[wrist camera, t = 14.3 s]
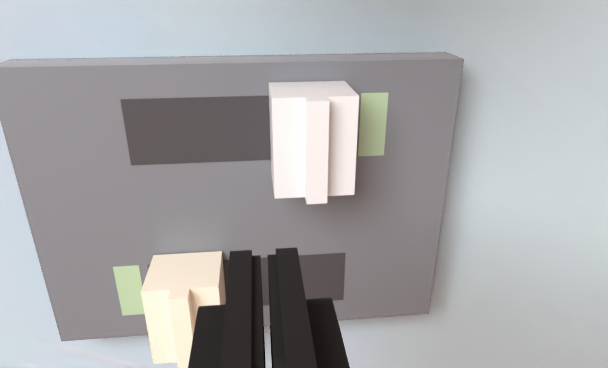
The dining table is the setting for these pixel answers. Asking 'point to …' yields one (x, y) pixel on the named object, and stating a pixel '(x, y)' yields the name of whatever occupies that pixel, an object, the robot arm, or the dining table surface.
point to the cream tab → (179, 300)
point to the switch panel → (223, 177)
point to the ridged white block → (313, 139)
